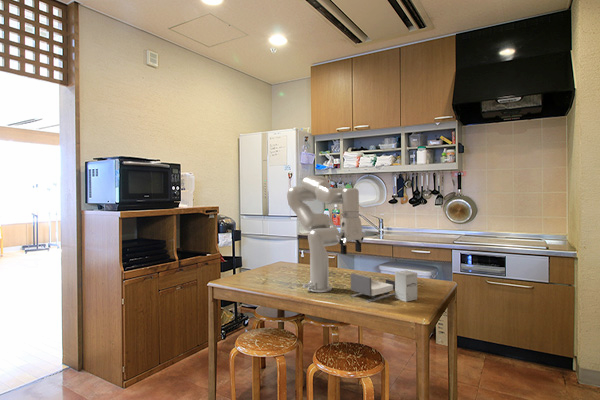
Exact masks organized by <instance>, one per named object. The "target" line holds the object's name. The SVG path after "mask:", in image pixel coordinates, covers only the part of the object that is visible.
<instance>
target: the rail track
mask: <svg viewBox="0 0 600 400" xmlns="http://www.w3.org/2000/svg"><path fill="white" fill-rule="evenodd" d="M385 283H387V284H391V285H393V290H395V280H391V279H387V278H385ZM363 295H365V294H362V293H359V294H357V293H355V294H352V295H350V297H351V298H355V297H359V296H363ZM392 296H395V292H392V293H389V294H388V295H385V294H384V295H381V296H376V298H375V299H374V298H369V299H366V300H365V301H366V302H367V303H372V302H375V301H379V300H382V299H385V298H386V299H387V298H389V297H392Z"/></svg>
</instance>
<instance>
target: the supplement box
mask: <svg viewBox="0 0 600 400" xmlns="http://www.w3.org/2000/svg"><path fill="white" fill-rule="evenodd" d="M394 278H395V279H394V281H395V289H394V293H395V295H394V298H395V299H397V300H399V301H403V302H406V303H407V302H411V301H417V300H418V272H415V271H411V270H400V271H395V272H394Z"/></svg>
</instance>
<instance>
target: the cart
mask: <svg viewBox="0 0 600 400" xmlns="http://www.w3.org/2000/svg"><path fill="white" fill-rule="evenodd" d="M350 291H352V292H355V294H359V293H362V294H364V295H365V296H369V297H371V298H370V299H373V298H374V299H375V298H377V295H381V294H382V295H383V294H384V295H388V294H390V293H389V292H392V291H394V289H393V285H391V284H387V283H386V282H384V281H383V282H382V281H379V280H374V279H372V277H370V276H365V275H361V274H357V273H353V272H352V273H350Z"/></svg>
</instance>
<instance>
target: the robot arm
mask: <svg viewBox="0 0 600 400" xmlns="http://www.w3.org/2000/svg"><path fill="white" fill-rule="evenodd" d="M286 193H287V194H286V198H287V204H288V206H289V207H290V208H291V210H292V211H293V212H294V214H295V215H296V217H297V218H298V221H299V222H300V224H301V226H302V227H303V229H304V230H305V231H306V232H308V234H307V241H308V246H309V248H308V249H309V268H310V269H309V276H310V277H309V279H310V280H308V282H307V283H303V284H302V288H303V289H306V290H307V291H309V292H313V293H327V292H330V291H332V286H331V285H329V281H330V279H329V253H328V251H327V250H326V247H329V246H331V247H332V246H337V245H338V244H339V245H340V254H342V255H347V254H348V253H347V250H348V249H347V243H348V242H350V241H355V243H354V245H355V246H354V247H355V249H354V250H355V252H356V253H361V252H362V244H363V241H364V239H365V238H364V237H365V235H366V233H364V232H363V226H362V221H361V217H360V196H359V195H360V194H359V189H358V188H355V187H349V188H348V187H347V188H344V187H343V188H340V187H339V188H338V187H335V188H334V187H331V188H330V184H329V181H328V179H327V177H326V176H323V175H307V176H305V177H304V178H303V179H302V181H301V185H299V186H298V185H297V186H293V187H289V189H287V192H286ZM316 200H318V201H319V202H322V203H323V204H326V205H342V206H341V207H342V208H341V209H342V211H341V212H342V213H341V214H340V215H341V217H342V218H341V221H340V232H339V229H338V228H337V226H336V225H335V223H334V221H333V220H332V219H331V217H330V216H329V215H328V214H326V213H315V212H314V211H313V210H312V208H311V207H310V206H309V205H308V204H306V203H305V202H314V201H316Z"/></svg>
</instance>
